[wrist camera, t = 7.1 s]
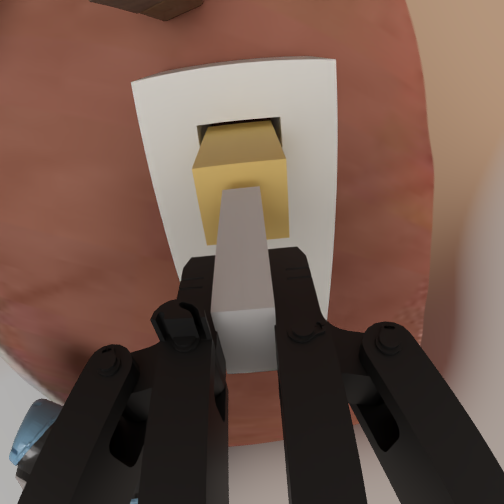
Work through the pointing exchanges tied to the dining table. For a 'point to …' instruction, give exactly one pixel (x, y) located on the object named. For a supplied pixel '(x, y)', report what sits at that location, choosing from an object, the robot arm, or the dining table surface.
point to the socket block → (242, 108)
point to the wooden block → (153, 7)
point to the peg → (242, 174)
